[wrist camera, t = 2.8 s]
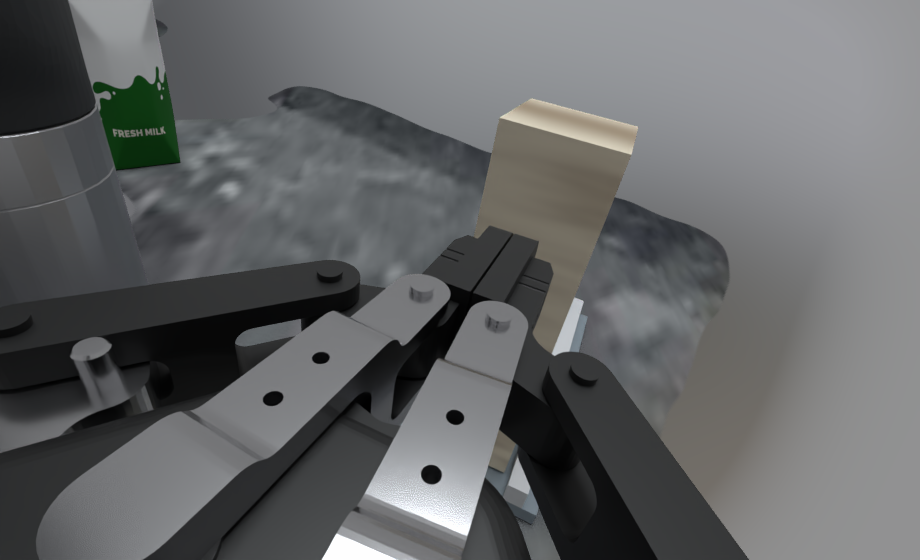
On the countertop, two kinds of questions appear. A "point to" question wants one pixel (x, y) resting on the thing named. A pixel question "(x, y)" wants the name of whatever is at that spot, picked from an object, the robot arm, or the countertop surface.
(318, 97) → the countertop surface
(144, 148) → the milk carton
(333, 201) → the countertop surface
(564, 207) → the block
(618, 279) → the countertop surface
